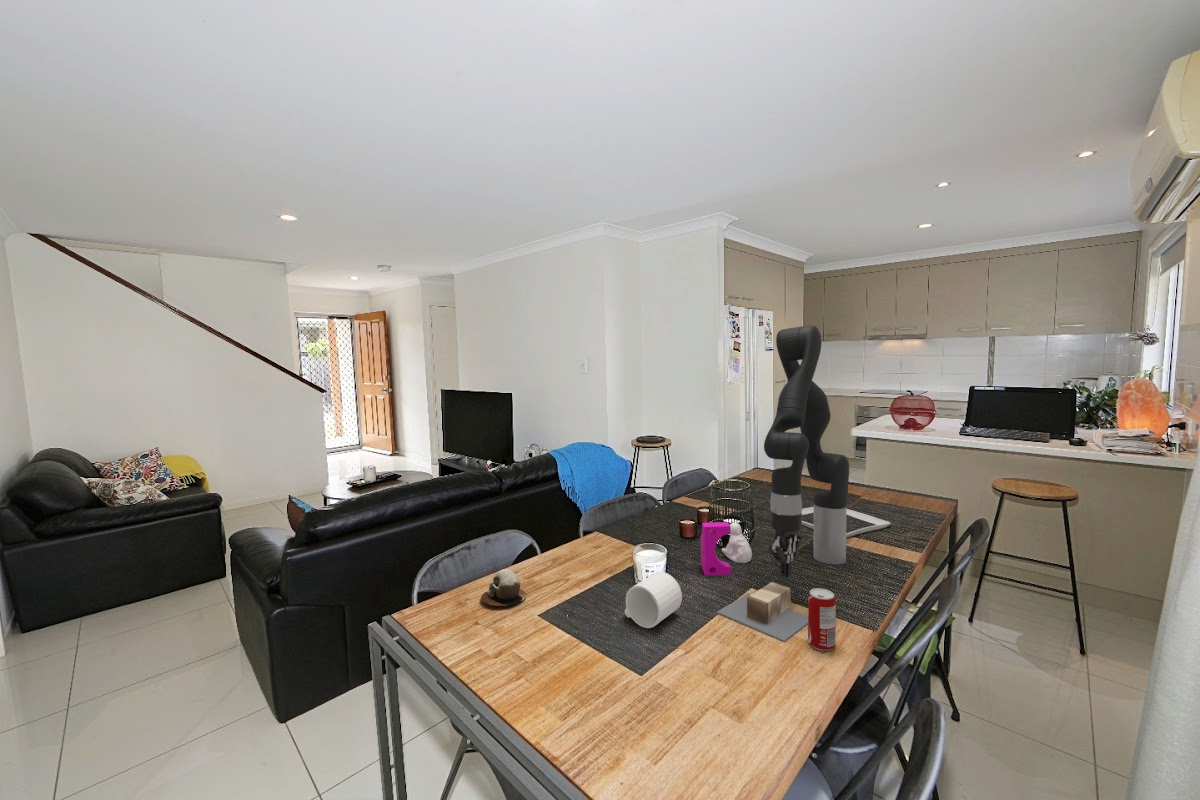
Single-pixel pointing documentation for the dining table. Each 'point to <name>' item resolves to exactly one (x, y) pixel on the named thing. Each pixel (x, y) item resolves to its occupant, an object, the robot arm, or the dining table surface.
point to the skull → (504, 589)
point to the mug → (653, 599)
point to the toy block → (713, 548)
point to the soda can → (821, 619)
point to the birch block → (768, 602)
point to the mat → (776, 628)
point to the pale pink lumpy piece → (737, 546)
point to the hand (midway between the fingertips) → (785, 575)
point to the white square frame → (878, 522)
